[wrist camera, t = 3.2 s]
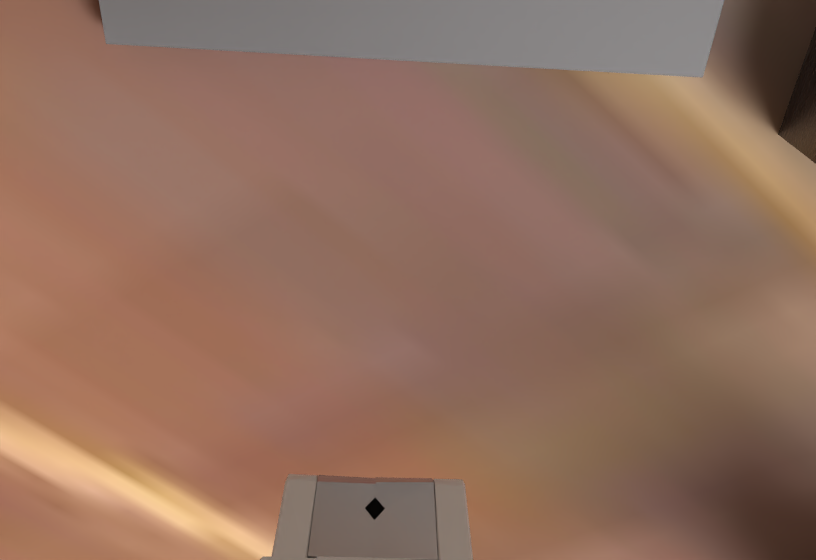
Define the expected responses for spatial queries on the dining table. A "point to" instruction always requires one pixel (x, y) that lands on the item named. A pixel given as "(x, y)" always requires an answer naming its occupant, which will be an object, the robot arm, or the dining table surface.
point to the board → (436, 30)
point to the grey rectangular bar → (803, 108)
